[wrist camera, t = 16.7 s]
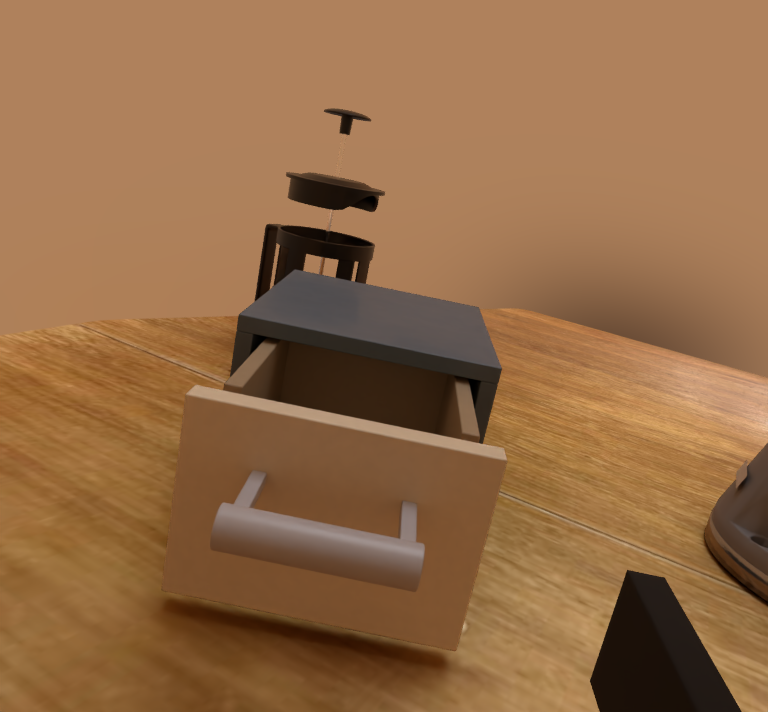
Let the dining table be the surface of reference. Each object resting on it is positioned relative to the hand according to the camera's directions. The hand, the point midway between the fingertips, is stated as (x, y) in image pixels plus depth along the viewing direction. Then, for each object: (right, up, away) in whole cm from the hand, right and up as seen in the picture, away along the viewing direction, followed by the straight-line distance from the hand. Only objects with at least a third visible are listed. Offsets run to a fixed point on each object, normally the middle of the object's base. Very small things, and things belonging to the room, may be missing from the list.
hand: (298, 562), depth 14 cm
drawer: (-1, -6, +19) cm, 20 cm away
